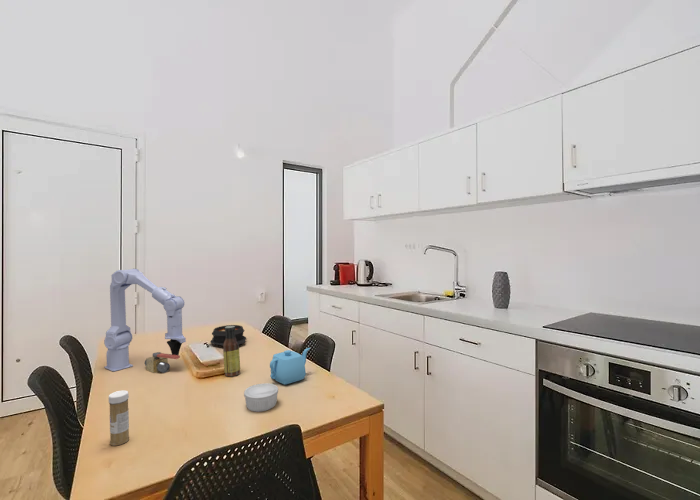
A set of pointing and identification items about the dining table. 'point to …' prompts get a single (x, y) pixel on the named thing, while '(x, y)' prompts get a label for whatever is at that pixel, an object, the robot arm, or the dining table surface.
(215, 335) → the casserole
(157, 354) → the lever
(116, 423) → the sprinkles bottle
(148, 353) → the dining table surface
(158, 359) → the valve fixture
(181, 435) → the dining table surface
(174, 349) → the robot arm
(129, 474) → the dining table surface
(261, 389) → the ramekin
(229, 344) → the sauce bottle
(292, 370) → the teapot
